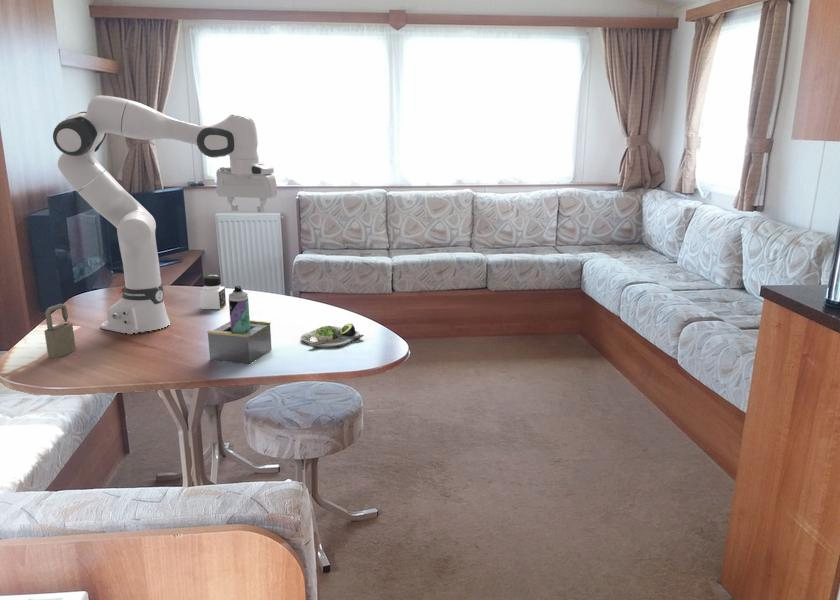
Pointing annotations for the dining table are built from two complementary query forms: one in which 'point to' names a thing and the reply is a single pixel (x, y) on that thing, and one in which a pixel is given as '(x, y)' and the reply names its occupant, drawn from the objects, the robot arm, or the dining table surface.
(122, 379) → the dining table surface
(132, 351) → the dining table surface
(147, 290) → the robot arm
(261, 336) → the socket block
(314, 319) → the dining table surface
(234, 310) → the spray can
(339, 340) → the salad plate
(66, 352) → the padlock
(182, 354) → the dining table surface
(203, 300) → the medicine bottle
